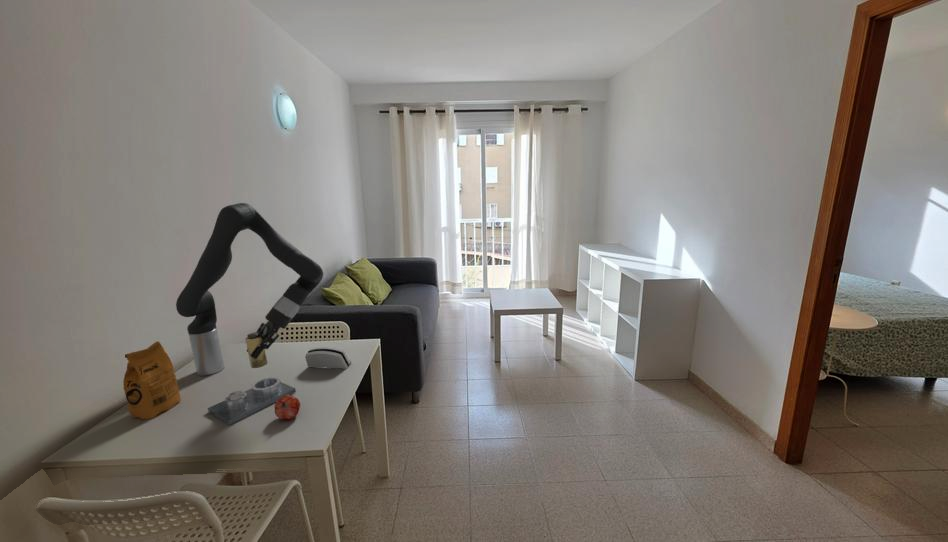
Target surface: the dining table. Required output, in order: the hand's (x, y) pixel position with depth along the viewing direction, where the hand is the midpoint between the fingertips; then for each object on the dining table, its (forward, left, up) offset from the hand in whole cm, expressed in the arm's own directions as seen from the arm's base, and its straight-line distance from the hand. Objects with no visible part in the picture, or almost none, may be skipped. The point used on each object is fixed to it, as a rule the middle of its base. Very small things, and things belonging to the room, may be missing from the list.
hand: (251, 354), depth 130 cm
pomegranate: (+19, -1, -17) cm, 26 cm away
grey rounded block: (+1, +27, -17) cm, 32 cm away
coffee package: (-25, -21, -16) cm, 36 cm away
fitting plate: (0, -2, -16) cm, 16 cm away
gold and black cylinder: (0, +2, -4) cm, 5 cm away
